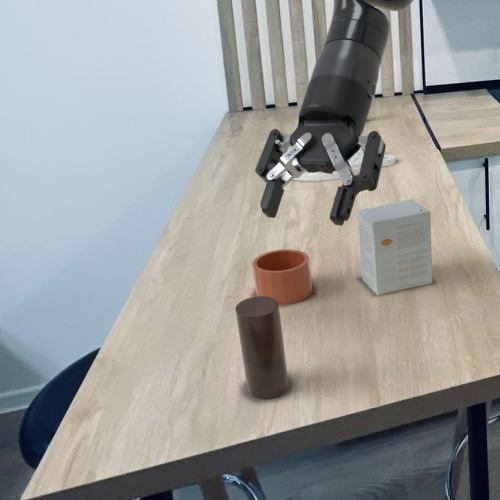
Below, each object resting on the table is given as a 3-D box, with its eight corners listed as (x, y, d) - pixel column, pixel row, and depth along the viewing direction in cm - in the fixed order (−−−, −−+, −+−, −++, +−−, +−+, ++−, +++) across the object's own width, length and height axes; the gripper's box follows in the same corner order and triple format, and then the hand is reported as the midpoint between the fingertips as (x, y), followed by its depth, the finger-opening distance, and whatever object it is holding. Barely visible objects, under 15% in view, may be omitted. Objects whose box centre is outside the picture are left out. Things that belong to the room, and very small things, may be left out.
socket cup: (321, 285, 91) (318, 252, 89) (294, 310, 85) (290, 276, 84) (275, 278, 95) (271, 246, 93) (246, 301, 90) (241, 268, 88)
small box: (414, 269, 92) (412, 198, 88) (433, 284, 87) (431, 210, 83) (361, 280, 91) (356, 209, 87) (376, 297, 86) (372, 222, 82)
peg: (296, 382, 70) (286, 299, 67) (275, 405, 67) (263, 319, 63) (262, 373, 73) (250, 293, 69) (239, 395, 70) (226, 312, 66)
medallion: (291, 152, 160) (290, 143, 160) (403, 149, 150) (403, 139, 149) (258, 182, 141) (257, 171, 140) (385, 180, 130) (384, 169, 130)
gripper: (273, 73, 77) (230, 198, 72) (388, 69, 69) (347, 209, 65) (300, 109, 83) (262, 226, 78) (409, 108, 75) (372, 239, 71)
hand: (300, 218), depth 72 cm, fingers open, 8 cm apart
